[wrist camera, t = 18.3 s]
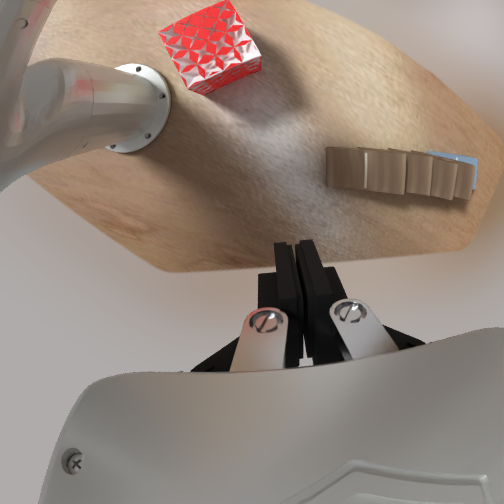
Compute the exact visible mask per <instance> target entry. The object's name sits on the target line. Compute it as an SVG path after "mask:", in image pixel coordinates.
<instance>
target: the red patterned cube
mask: <svg viewBox="0 0 504 504" xmlns="http://www.w3.org/2000/svg"><path fill="white" fill-rule="evenodd" d="M158 34H159V36H160V38H161V39H162V41H163V43H164V45H165V47H166V49H167V51H168V53H169V55H170V57H171V58H172V60H173V62H174V64H175V66H176V68H177V70H178V72H179V74H180V76H181V78H182V80H183V82H184V83H185V85H186V87H187V89H188V90H191V91H193V92H196V93H198V94H201V95H203V96H204V95H206V94H208V93H210V92H212V91H214V90H215V89H218V88H220V87H222V86H224V85H226V84H228V83H231V82H233V81H235V80H237V79H240V78H242V77H244V76H247V75H249V74H252V73H254V72H257V71H259V70H261V54H260V52H259V50H258V48H257V46H256V45H255V43H254V41H253V39H252V37H251V36H250V34H249V32H248V31H247V29H246V27H245V25H244V24H243V22H242V20H241V19H240V17H239V15H238V14H237V12H236V11H235V9H234V7H233V6H232V4H231V3H230V1H229V0H223V1H221V2H218V3H216V4H213V5H211V6H209V7H206V8H204V9H202V10H200V11H198V12H195V13H193V14H191V15H189V16H187V17H185V18H183V19H181V20H179V21H177V22H175V23H174V24H172V25H170V26H168V27H166V28H164V29H163V30H161V31H159V32H158Z"/></svg>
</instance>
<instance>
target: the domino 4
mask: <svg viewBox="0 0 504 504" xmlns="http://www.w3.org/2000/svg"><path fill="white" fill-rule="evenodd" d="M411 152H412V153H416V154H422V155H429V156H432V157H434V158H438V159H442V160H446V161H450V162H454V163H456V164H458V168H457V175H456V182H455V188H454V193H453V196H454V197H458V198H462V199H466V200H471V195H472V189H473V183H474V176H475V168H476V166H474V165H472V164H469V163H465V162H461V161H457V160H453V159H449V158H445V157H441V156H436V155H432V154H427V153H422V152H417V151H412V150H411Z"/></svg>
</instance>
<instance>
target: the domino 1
mask: <svg viewBox="0 0 504 504" xmlns="http://www.w3.org/2000/svg"><path fill="white" fill-rule="evenodd" d="M405 173H406V154H405V153H400V152H391V151H381V150H370V149H357V148H340V147H327V148H326V178H327V187H333V188H345V189H356V190H366V191H375V192H384V193H393V194H400V195H404V189H405Z"/></svg>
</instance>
